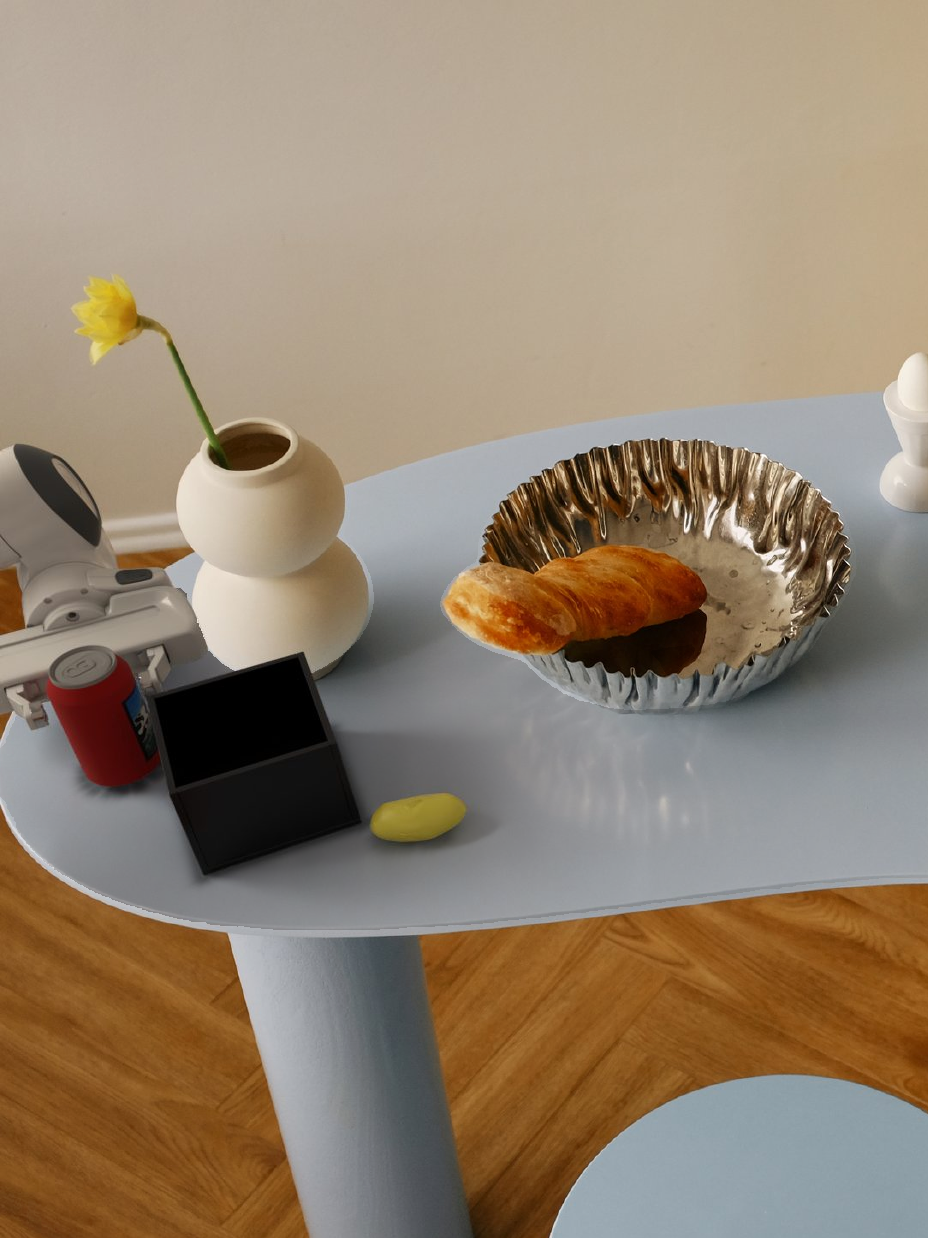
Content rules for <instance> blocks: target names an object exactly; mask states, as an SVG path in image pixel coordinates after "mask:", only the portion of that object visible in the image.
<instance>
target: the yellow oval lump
mask: <svg viewBox="0 0 928 1238" xmlns="http://www.w3.org/2000/svg"><path fill="white" fill-rule="evenodd" d="M466 813H467V806H466V804H465V802H464V801H463V800H462V799H460V798H459V797H457V796H456V795H453V794H451V793H449V792H440V793H433V794H421V795H415V796H411V797H406V798H401V799H397V800H392V801H387V802H385V803H382V804H381V805H380V806H379V807H378V808H377V809H376V810H375V811H374V813H373V815H372V816H371V819H370V825H369V828H370V830H371V832H372V834H373V835H375V836H376V837H377V838H379V839H382V840H385V841H392V842H401V843H403V842H405V843H406V842H420V841H429V840H433V839H435V838H438V837H439V836H441V835H443V834H445V833H446V832H449V831H450V830H452V829H453V828H455V827H456V826H458V825H459V824H460V823H461V822H462V820H463V819H464V817H465V816H466Z"/></svg>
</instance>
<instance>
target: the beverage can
mask: <svg viewBox="0 0 928 1238" xmlns="http://www.w3.org/2000/svg"><path fill="white" fill-rule="evenodd" d="M48 675H49V678H48V682H47V688H46V691H47V695H48V697H49V699H50V701H49V702H50V703H51V706H52V708H53V710H54V712H55V715H56V717H57V719H58V721H59V723H60V726H61V728H62V729H63V732H64V734H65V736H66V739H67V740H68V743H69V745H70V746H71V749H72V750H73V752H74V755H75V757H76V759H77V760H78V761H77V762H78V763H79V764H80V767H81V769H82V771H83V773H84V775H85V777H86V778H87V779H88V780H89V781H90V782H92V783H93V784H95V785H98V786H102V787H119V786H120V787H121V786H125V785H129V784H133V783H135V782H137V781H140V780H142V779H143V778H146V777H147V776H148V775H150V774H151V773H152V772H153V771H154V770H155V769H157V767H158V766H159V765H160V763H161V758H160V754H159V750H158V746H157V741H156V737H155V733H154V729H153V724H152V720H151V716H150V712H149V708H148V705H147V704H146V702H145V699H144V697H143V694H142V692H141V690H140V687H139V686H138V683H137V680H136V677H134V676H133V673H132V671H131V669H130V666H129V665H128V663H127V662H126V661H125V660H124V659H122V658H121V657H119V656H118V655H116V654H115V653H114V652H113V651H112V650H111V649H109V648H107V647H105V646H100V645H87V646H81V647H77V648H74V649H72V650H69V651H67V652H65V653H63V654H62V655H60V656H59V657H58V658H56V659H55V660H54V661H53V663H52V664H51V665H50V667H49V671H48Z"/></svg>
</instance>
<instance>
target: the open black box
mask: <svg viewBox="0 0 928 1238" xmlns="http://www.w3.org/2000/svg"><path fill="white" fill-rule="evenodd" d="M145 698H146V703H147V708H148V711H149V713H150V716H151V720H152V724H153V729H154V733H155V737H156V741H157V746H158V750H159V754H160V758H161V762H160V763H161V767H162V771H163V774H164V780H165V784H166V788H167V792H168V796H169V798H170V800H171V803H172V805H173V808H174V810H175V812H176V814H177V817H178V819H179V822H180V824H181V826H182V829H183V831H184V833H185V836H186V838H187V841H188V843H189V846H190V847H191V850H192V852H193V854H194V857H195V859H196V861H197V863H198V866H199V869H200V871H201V873H202V875H203V876H207V875H210V874H213V873H215V872H219V871H222V870H224V869H228V868H230V867H233V866H238V865H240V864H243V863H247V862H249V861H253V860H255V859H258V858H261V857H264V856H267V855H270V854H272V853H273V854H274V853H277V852H279V851H282V850H285V849H288V848H292V847H294V846H298V845H301V844H304V843H306V842H309V841H312V840H316V839H318V838H322V837H325V836H328V835H330V834H333V833H336V832H339V831H342V830H347V829H349V828H352V827H354V826H359V825H362V823H363V822H362V821H363V820H362V818H361V814H360V812H359V808H358V806H357V805H358V804H357V802H356V799H355V796H354V792H353V789H352V786H351V782H350V780H349V777H348V774H347V769H346V767H345V764H344V760H343V757H342V754H341V751H340V747H339V745H338V741H337V738H336V736H335V733H334V730H333V728H332V725H331V722H330V720H329V717H328V714H327V711H326V709H325V707H324V703H323V700H322V698H321V695H320V692H319V689H318V687H317V684H316V682H315V678H314V676H313V674H312V671H311V668H310V665H309V663H308V659H307V657H306V654H305V652H304V651H300V652H297V653H293V654H289V655H285V656H282V657H279V658H275V659H272V660H269V661H265V662H262V663H257V664H255V665H251V666H247V667H243V668H241V669H237V670H233V671H230V672H227V673H223V674H219V675H216V676H212V677H209V678H205V679H202V680H199V681H196V682H192V683H188V684H184V685H181V686H178V687H175V688H171V689H168V690H165V691H163V692H160V693H157V694H154V695H150V696H147V697H145Z"/></svg>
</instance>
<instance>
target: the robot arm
mask: <svg viewBox="0 0 928 1238" xmlns="http://www.w3.org/2000/svg"><path fill="white" fill-rule="evenodd" d="M102 525H103V520H102V516H101V512H100V510H99V507H98V504H97V502H96V500H95V498H94V497H93V494H92V493H91V491H90V490H89V488H88V486H87V485H86V483H85V482H84V481H83V479H82V478H81V477H80V475H79V474H78V473H77V472H76V470H75V469H74V468H73V467H72V466H71V465H70V464H69V463H68V461H66V460H65V459H64V458H62V457H61V456H59V455H57V454H55V453H53V452H50V451H48V450H45V449H43V448H40V447H37V446H34V445H30V444H24V443H15V444H14V445H11V446H8V447H5V448H4V449H1V450H0V572H1V571H3V570H4V569H8V568H10V567H11V566H14V565H16V574H17V582H18V585H19V588H20V590H21V592H22V593H21V608H22V614H23V620H24V625H25V628H23V629H19V630H16V631H11V632H8V633H4V634H1V635H0V716H1V715H5V714H8V713H12V712H14V713H15V715H17V716H19V717H21V718H23V719H25V721H26V724H27V726H28V727H29V730H30V731H35V730H38V729H43V728H45V727H49V726H50V722H49V715H48V713H47V711H46V709H44V708H45V707H44V703H48V702H51V701H50V699H49V697H48V695H47V691H46V688H47V682H48V678H49V675H48V671H49V667H50V665H51V664H52V663H53V661H54V660H55V659H56V658H58V657H59V656H60V655H62V654H63V653H65V652H67V651H69V650H72V649H74V648H77V647H81V646H87V645H100V646H105V647H107V648H109V649H111V650H112V651H113V652H114V653H115V654H116V655H118V656H119V657H121V658H122V659H124V660H125V661H126V662H127V663H128V665H129V666H130V669H131V671H132V673H133V676H134V678H137V677H138V680H139V685H140V687H141V689H142V691H143V694H144V697H145V698H146V697H147V696H150V695H154V694H157V693H160V692H164V691H163V687H162V683H163V682H164V681H165V679H166V678H167V676H168V675H169V674H170V672H171V670H172V669H171V668H172V667H176V666H179V665H182V664H186V663H189V662H193V661H198V660H199V659H201V658H203V657H204V655H205V654H206V653H207V652H208V650H209V647H208V644H207V641H206V638H205V636H204V637H203V635H204V632H203V630H202V631H201V629H202V627H201V626H200V627H201V628H200V627H199V624H200V622H199V623H197V619H198V616H197V615H196V612H195V610H194V608H193V607H192V605H191V603H190V601H189V599H188V598H187V597H186V595H185V594H184V593H183V592H182V591H181V590H180V589H178V588H177V587H175V586H174V585H173V583H172V580H171V579H170V577H169V575H168V573H167V572H166V570H165V569H164V568H162V567H158V566H155V567H154V566H153V567H142V568H141V567H138V568H120V566H119V563H118V558H117V556H116V555H117V554H116V551H115V549H114V547H113V545H112V542H111V540H110V538H109V536H108V534H107V533H106V531H105V529H104V527H103V526H102ZM202 632H203V633H202ZM204 638H205V639H204Z"/></svg>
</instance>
